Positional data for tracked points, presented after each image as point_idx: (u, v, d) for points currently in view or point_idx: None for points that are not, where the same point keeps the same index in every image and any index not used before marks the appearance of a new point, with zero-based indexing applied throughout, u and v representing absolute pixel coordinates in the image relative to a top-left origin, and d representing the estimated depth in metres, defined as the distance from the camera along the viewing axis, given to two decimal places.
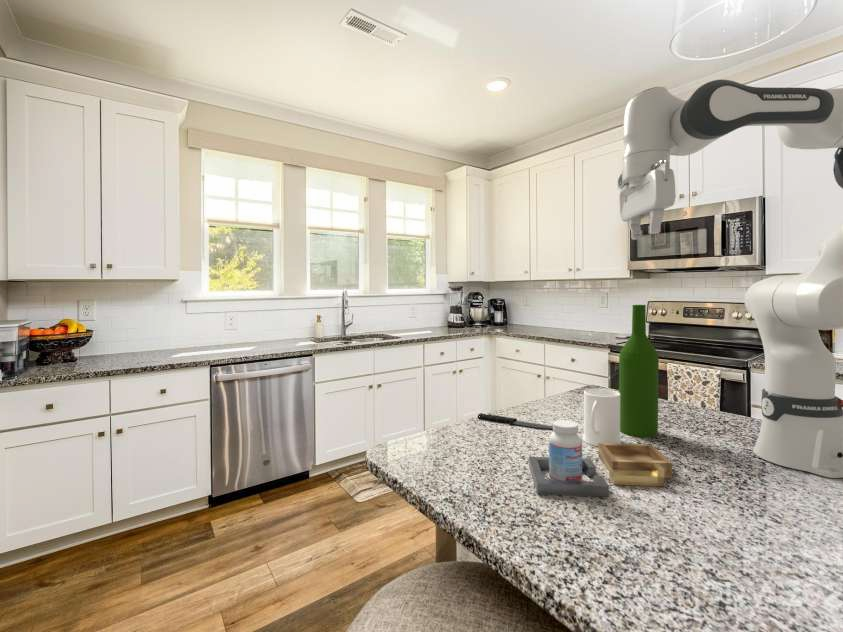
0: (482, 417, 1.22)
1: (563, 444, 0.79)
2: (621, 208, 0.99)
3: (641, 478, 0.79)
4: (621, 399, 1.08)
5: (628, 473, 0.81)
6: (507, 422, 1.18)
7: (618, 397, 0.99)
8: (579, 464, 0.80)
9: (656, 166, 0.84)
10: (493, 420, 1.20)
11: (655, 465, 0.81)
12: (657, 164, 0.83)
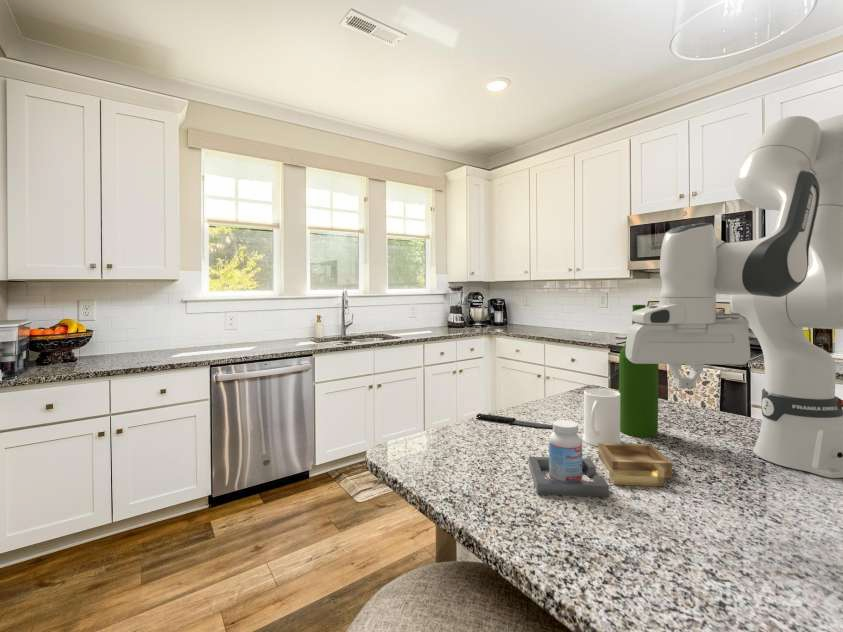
0: (481, 417, 1.22)
1: (563, 444, 0.79)
2: (639, 347, 0.77)
3: (641, 478, 0.79)
4: (621, 399, 1.08)
5: (628, 473, 0.81)
6: (506, 422, 1.18)
7: (618, 397, 0.99)
8: (579, 464, 0.80)
9: (725, 317, 0.77)
10: (492, 420, 1.20)
11: (655, 465, 0.81)
12: (729, 316, 0.76)
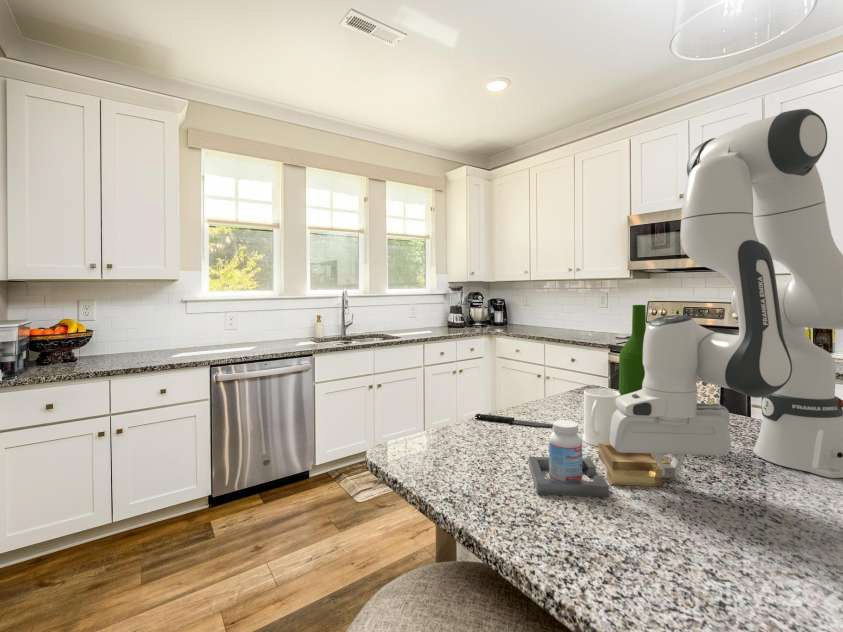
0: (480, 417, 1.22)
1: (563, 444, 0.79)
2: (622, 437, 0.79)
3: (639, 478, 0.79)
4: None
5: (626, 473, 0.81)
6: (506, 421, 1.18)
7: None
8: (579, 464, 0.80)
9: (707, 408, 0.78)
10: (491, 420, 1.20)
11: (653, 465, 0.81)
12: (710, 407, 0.78)
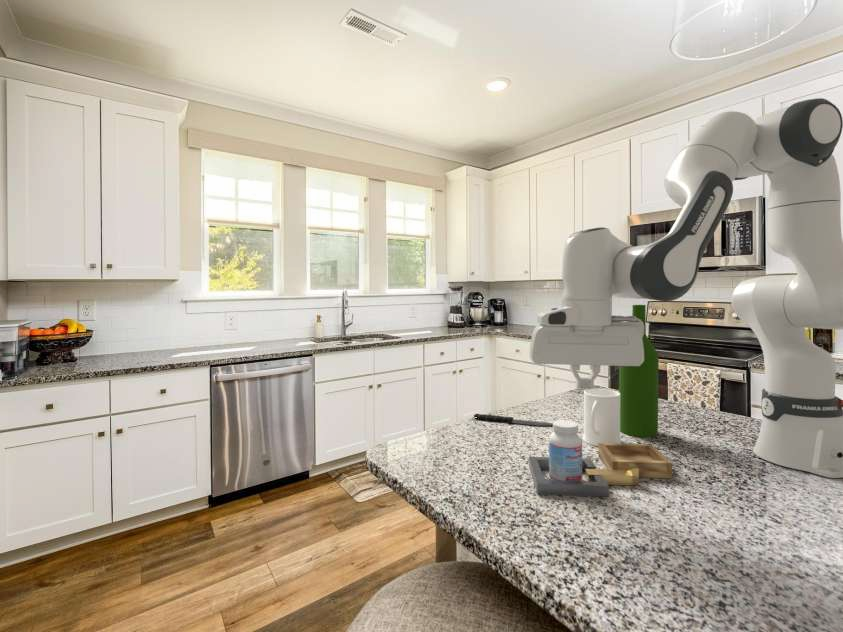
0: (479, 417, 1.22)
1: (563, 444, 0.79)
2: (539, 348, 0.79)
3: (616, 477, 0.80)
4: (621, 399, 1.08)
5: (604, 472, 0.81)
6: (505, 421, 1.19)
7: (618, 397, 0.99)
8: (579, 464, 0.80)
9: (622, 320, 0.79)
10: (490, 420, 1.20)
11: (630, 464, 0.81)
12: (625, 319, 0.79)
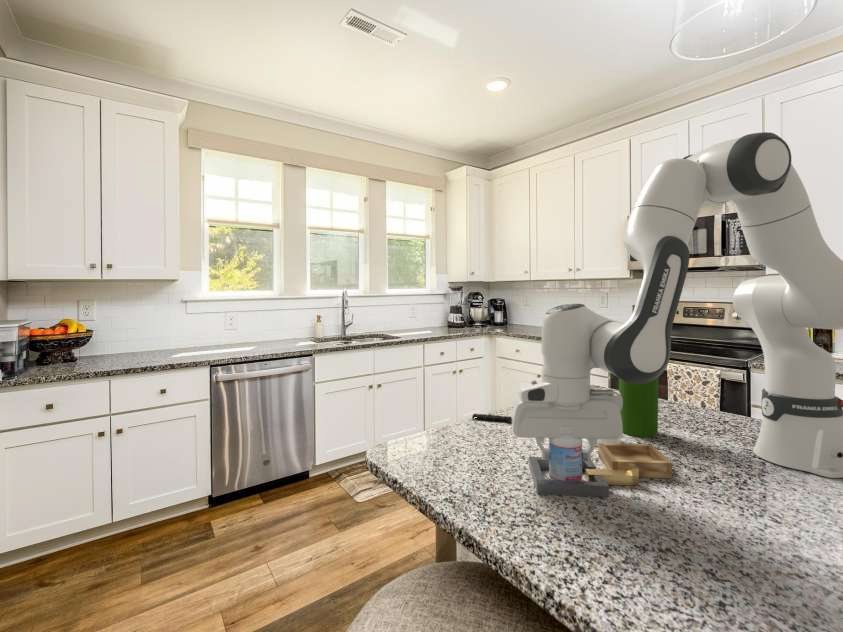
0: (477, 417, 1.22)
1: (563, 444, 0.79)
2: (520, 422, 0.81)
3: (616, 477, 0.80)
4: None
5: (604, 472, 0.81)
6: (504, 421, 1.19)
7: None
8: (579, 464, 0.80)
9: (601, 394, 0.80)
10: (489, 419, 1.20)
11: (630, 464, 0.81)
12: (604, 393, 0.80)
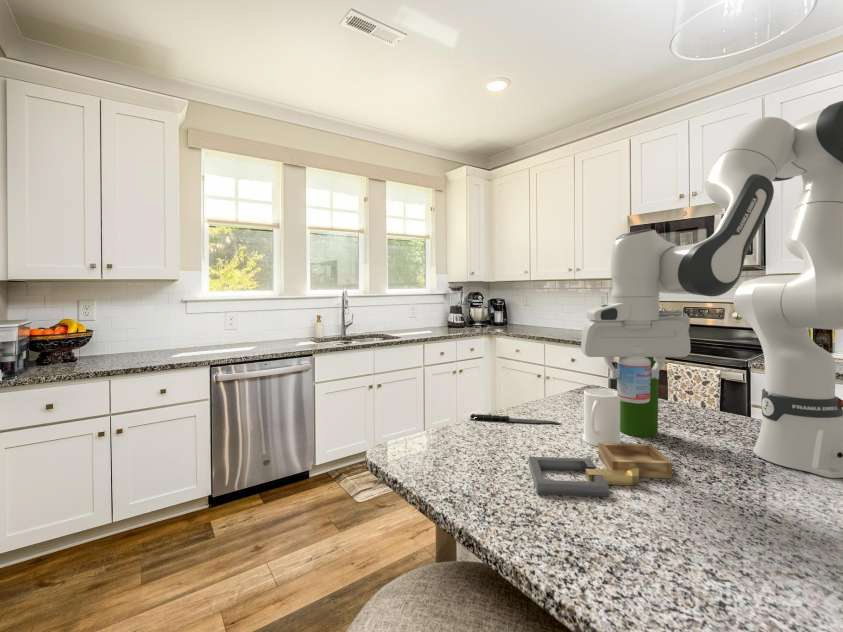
0: None
1: (634, 363, 0.84)
2: (592, 342, 0.86)
3: (616, 477, 0.80)
4: None
5: (604, 472, 0.81)
6: (502, 420, 1.19)
7: None
8: (649, 382, 0.85)
9: (669, 314, 0.85)
10: (488, 419, 1.20)
11: (630, 464, 0.81)
12: (672, 313, 0.85)
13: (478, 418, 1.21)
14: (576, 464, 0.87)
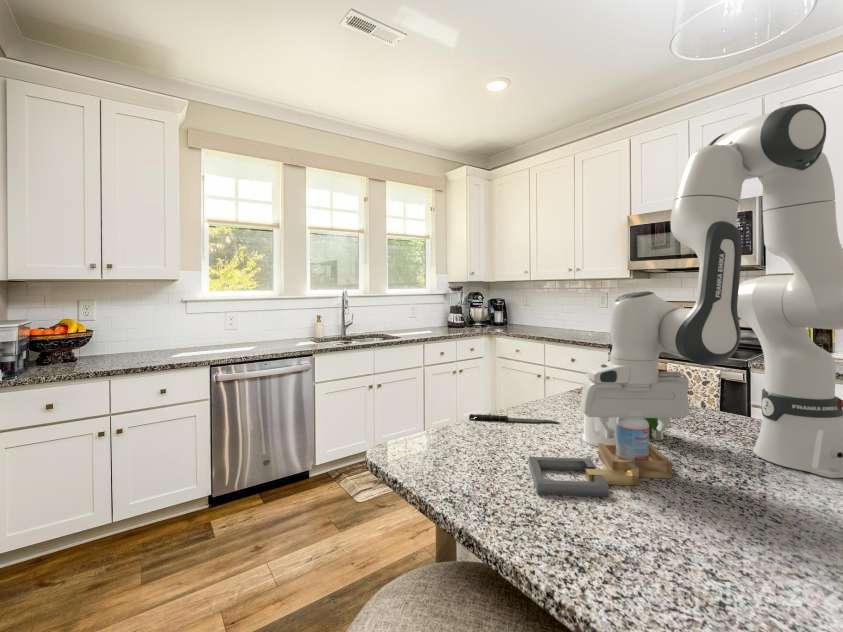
0: None
1: (632, 426, 0.85)
2: (591, 403, 0.86)
3: (616, 477, 0.80)
4: None
5: (604, 472, 0.81)
6: (501, 420, 1.20)
7: None
8: (647, 445, 0.85)
9: (668, 376, 0.86)
10: (487, 419, 1.20)
11: (630, 464, 0.81)
12: (671, 375, 0.85)
13: (477, 418, 1.21)
14: (576, 464, 0.87)
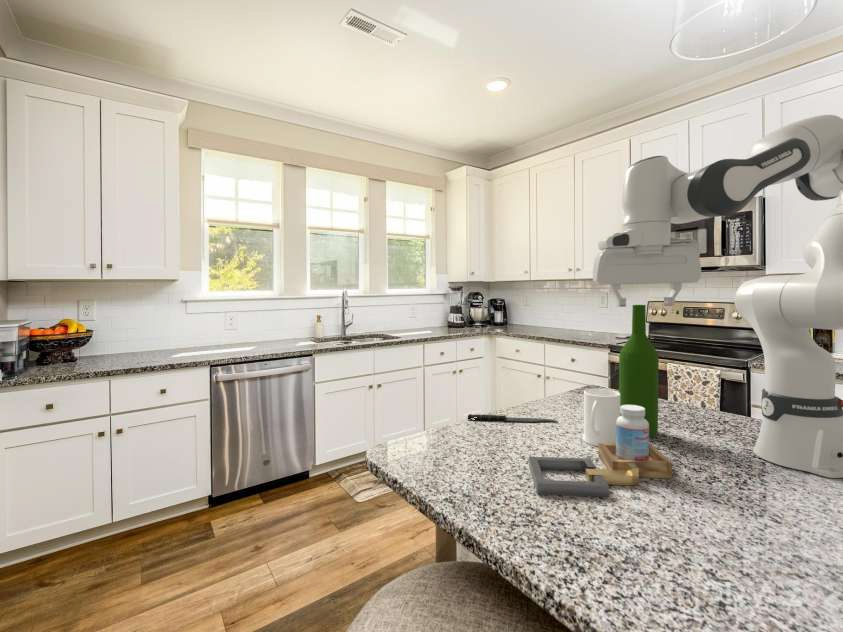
0: None
1: (632, 426, 0.85)
2: (603, 269, 0.87)
3: (616, 477, 0.80)
4: (621, 399, 1.08)
5: (604, 472, 0.81)
6: (500, 420, 1.20)
7: (618, 397, 0.99)
8: (647, 445, 0.85)
9: (680, 241, 0.86)
10: (485, 419, 1.20)
11: (630, 464, 0.81)
12: (683, 240, 0.86)
13: (476, 418, 1.21)
14: (576, 464, 0.87)
